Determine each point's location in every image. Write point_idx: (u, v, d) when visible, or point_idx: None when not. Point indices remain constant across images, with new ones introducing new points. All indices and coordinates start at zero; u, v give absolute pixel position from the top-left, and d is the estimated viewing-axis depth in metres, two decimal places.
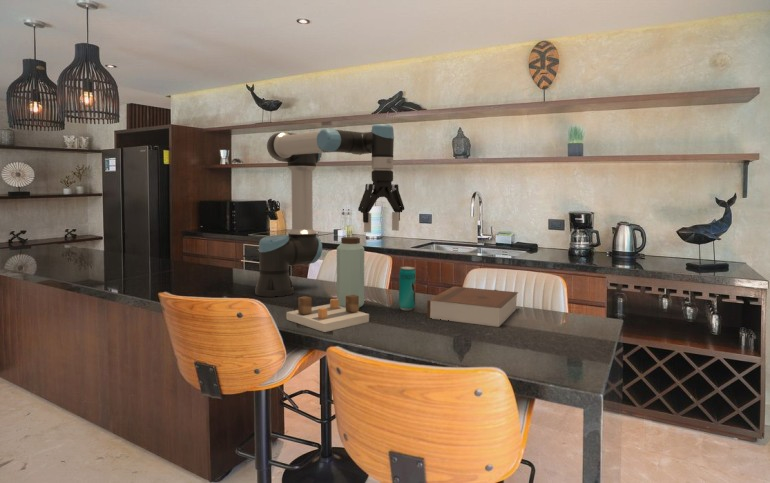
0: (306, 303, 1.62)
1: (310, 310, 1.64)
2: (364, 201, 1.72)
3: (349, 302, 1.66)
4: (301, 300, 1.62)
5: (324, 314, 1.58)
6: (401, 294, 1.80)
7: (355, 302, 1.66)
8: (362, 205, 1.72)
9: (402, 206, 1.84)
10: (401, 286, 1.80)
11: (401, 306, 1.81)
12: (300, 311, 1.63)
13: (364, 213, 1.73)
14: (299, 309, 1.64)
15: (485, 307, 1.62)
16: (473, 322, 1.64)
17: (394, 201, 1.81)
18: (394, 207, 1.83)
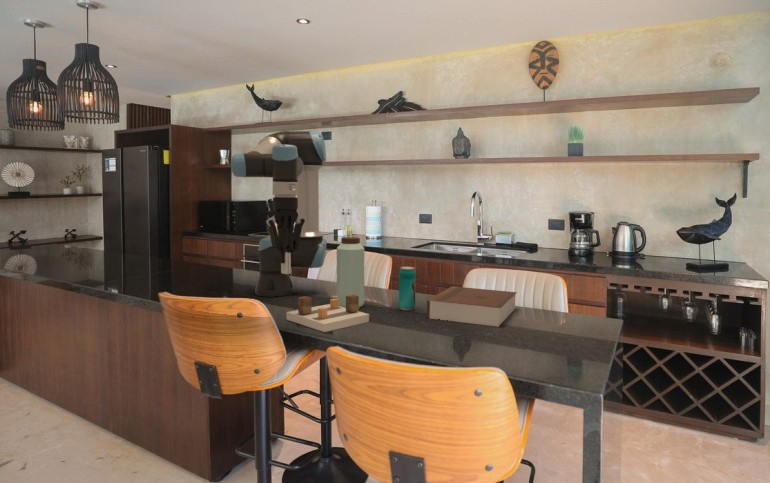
0: (306, 303, 1.62)
1: (310, 310, 1.64)
2: (274, 241, 1.53)
3: (349, 302, 1.66)
4: (301, 300, 1.62)
5: (324, 314, 1.58)
6: (401, 294, 1.80)
7: (355, 302, 1.66)
8: (274, 245, 1.54)
9: (297, 245, 1.58)
10: (401, 286, 1.80)
11: (401, 306, 1.81)
12: (300, 311, 1.63)
13: (280, 253, 1.56)
14: (299, 309, 1.64)
15: (485, 307, 1.62)
16: (473, 322, 1.64)
17: (291, 236, 1.57)
18: (288, 244, 1.57)
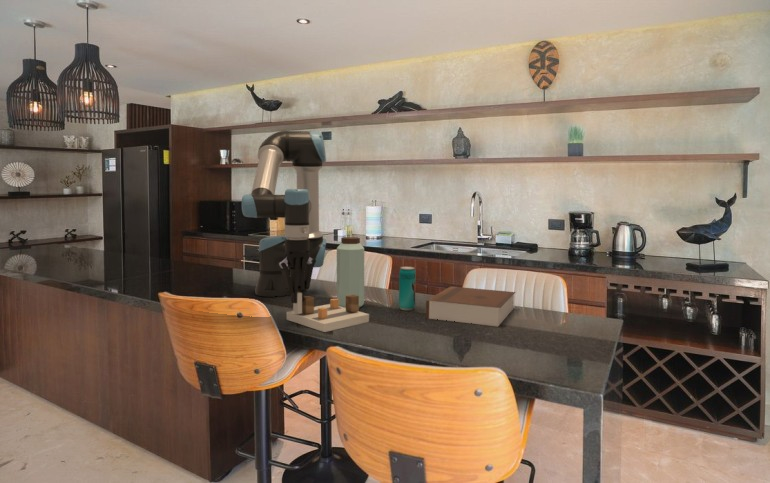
0: (309, 302, 1.63)
1: (312, 310, 1.64)
2: (286, 282, 1.58)
3: (349, 302, 1.66)
4: None
5: (324, 314, 1.58)
6: (401, 294, 1.80)
7: (355, 302, 1.66)
8: (287, 286, 1.58)
9: (308, 285, 1.63)
10: (401, 286, 1.80)
11: (401, 306, 1.81)
12: (302, 311, 1.64)
13: (292, 293, 1.60)
14: None
15: (484, 307, 1.62)
16: (472, 322, 1.64)
17: (302, 277, 1.61)
18: (299, 284, 1.62)
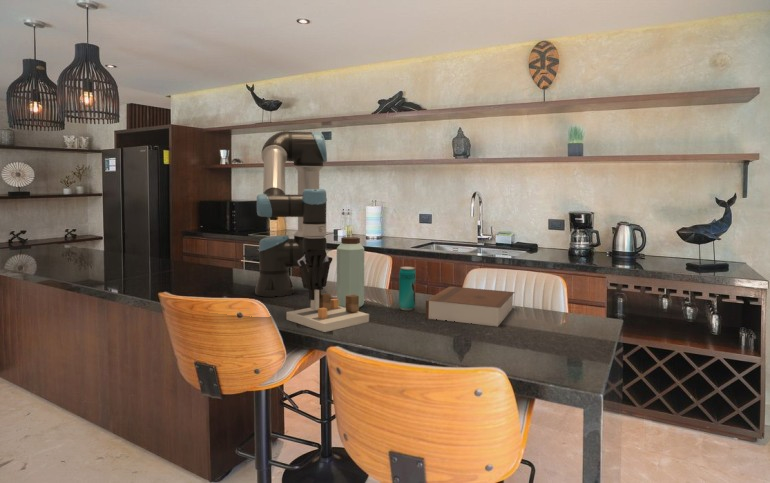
0: (325, 299, 1.68)
1: (329, 306, 1.69)
2: (304, 279, 1.62)
3: (349, 302, 1.66)
4: None
5: (324, 314, 1.58)
6: (401, 294, 1.80)
7: (355, 302, 1.66)
8: (305, 284, 1.63)
9: (324, 282, 1.67)
10: (401, 286, 1.80)
11: (401, 306, 1.81)
12: (319, 307, 1.68)
13: (310, 290, 1.65)
14: None
15: (484, 307, 1.62)
16: (472, 322, 1.64)
17: (320, 274, 1.66)
18: (316, 281, 1.66)
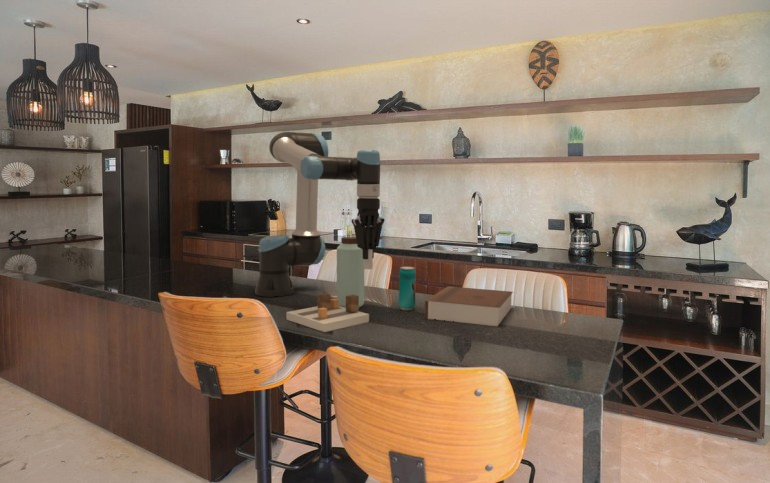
0: (326, 299, 1.68)
1: (329, 306, 1.69)
2: (359, 238, 1.66)
3: (349, 302, 1.66)
4: (320, 297, 1.68)
5: (324, 314, 1.58)
6: (401, 294, 1.80)
7: (355, 302, 1.66)
8: (360, 243, 1.67)
9: (377, 242, 1.71)
10: (401, 286, 1.80)
11: (401, 306, 1.81)
12: (319, 307, 1.69)
13: (364, 250, 1.69)
14: (318, 305, 1.69)
15: (484, 307, 1.62)
16: (471, 322, 1.64)
17: (373, 234, 1.70)
18: (370, 241, 1.70)
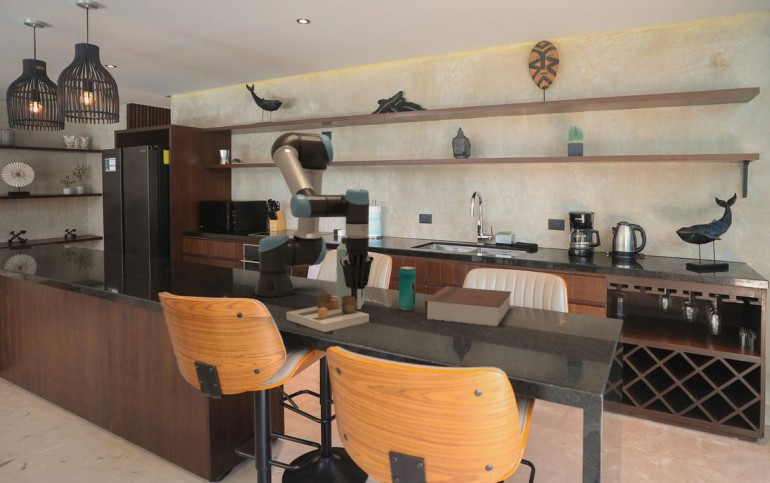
0: (326, 299, 1.68)
1: (329, 306, 1.69)
2: (348, 279, 1.64)
3: (345, 303, 1.65)
4: (320, 297, 1.68)
5: (324, 314, 1.58)
6: (401, 294, 1.80)
7: (352, 303, 1.65)
8: (348, 283, 1.65)
9: (366, 281, 1.69)
10: (401, 286, 1.80)
11: (401, 306, 1.81)
12: (319, 307, 1.69)
13: (352, 289, 1.67)
14: (318, 305, 1.69)
15: (483, 307, 1.62)
16: (471, 322, 1.64)
17: (362, 274, 1.68)
18: (358, 280, 1.68)
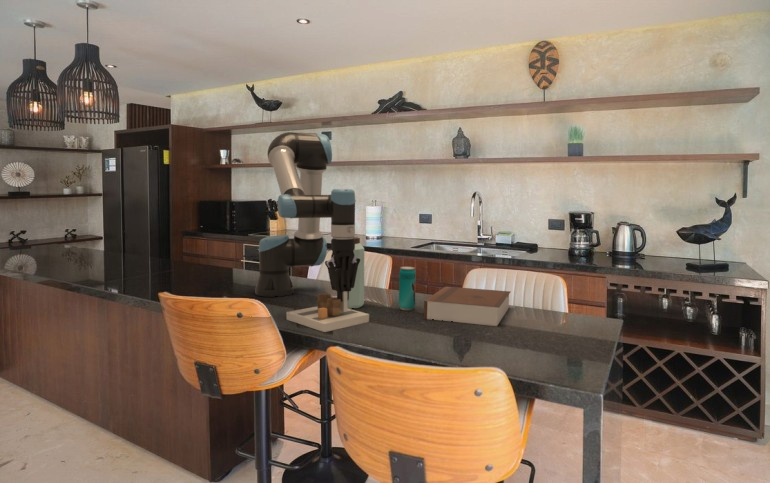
0: (326, 299, 1.68)
1: None
2: (333, 281, 1.60)
3: (331, 306, 1.60)
4: (320, 297, 1.68)
5: (324, 314, 1.58)
6: (401, 294, 1.80)
7: (337, 306, 1.61)
8: (334, 285, 1.61)
9: (353, 283, 1.65)
10: (401, 286, 1.80)
11: (401, 306, 1.81)
12: (319, 307, 1.69)
13: (338, 292, 1.63)
14: (318, 305, 1.69)
15: (483, 307, 1.62)
16: (471, 322, 1.64)
17: (348, 275, 1.64)
18: (344, 283, 1.64)
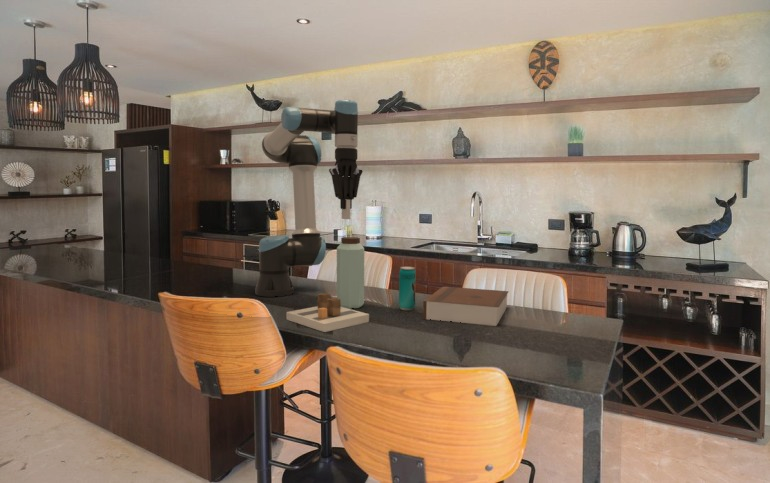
0: (326, 299, 1.68)
1: None
2: (337, 188, 1.69)
3: (331, 306, 1.60)
4: (320, 297, 1.68)
5: (324, 314, 1.58)
6: (401, 294, 1.80)
7: (337, 306, 1.61)
8: (337, 192, 1.69)
9: (355, 193, 1.74)
10: (401, 286, 1.80)
11: (401, 306, 1.81)
12: (319, 307, 1.69)
13: (341, 199, 1.71)
14: (318, 305, 1.69)
15: (482, 306, 1.62)
16: (470, 322, 1.64)
17: (351, 184, 1.72)
18: (347, 192, 1.72)
